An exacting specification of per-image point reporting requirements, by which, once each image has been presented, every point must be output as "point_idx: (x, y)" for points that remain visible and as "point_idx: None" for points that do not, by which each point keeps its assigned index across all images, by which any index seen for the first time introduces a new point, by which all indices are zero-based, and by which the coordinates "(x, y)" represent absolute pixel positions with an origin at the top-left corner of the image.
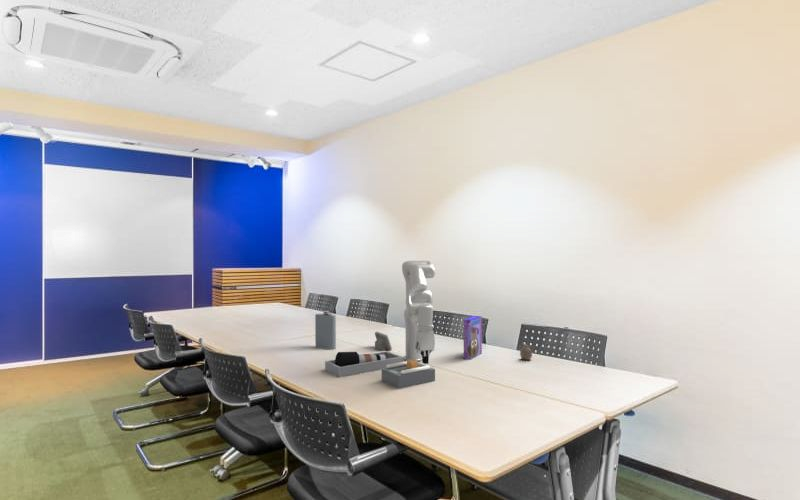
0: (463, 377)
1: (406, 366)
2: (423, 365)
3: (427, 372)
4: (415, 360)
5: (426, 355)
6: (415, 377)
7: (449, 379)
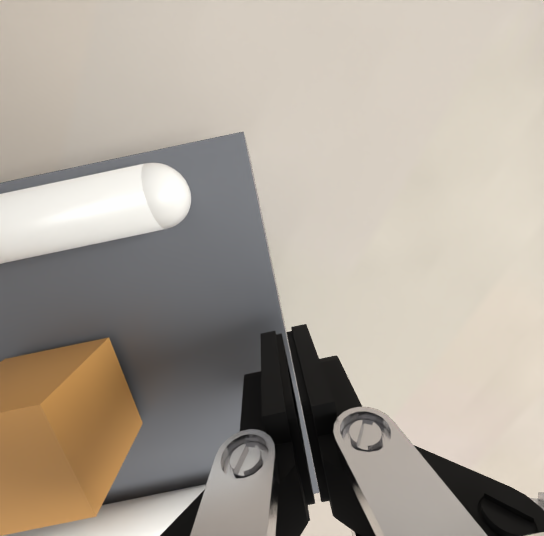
0: (529, 402)
1: (21, 291)
2: (268, 329)
3: None
4: (66, 479)
5: (327, 494)
6: None
7: (413, 408)
